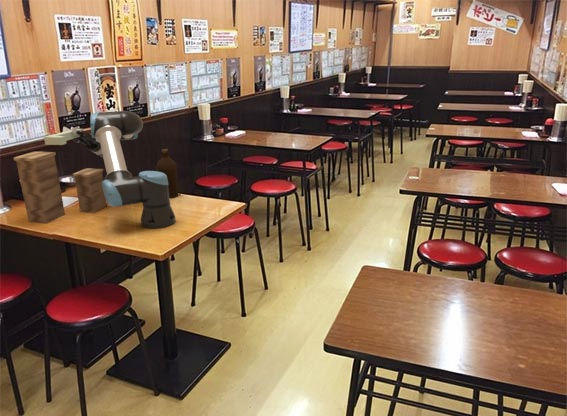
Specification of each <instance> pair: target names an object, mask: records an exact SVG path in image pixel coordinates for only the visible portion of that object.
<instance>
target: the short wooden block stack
mask: <svg viewBox="0 0 567 416" xmlns="http://www.w3.org/2000/svg"><path fill="white" fill-rule="evenodd" d="M103 172H104V168H90V167H89V168H87V167H86V168H83V169H81V170H78V171H77V172H74V173H72V176H73V177H74V181H75V187H76V188H75V189H76V194H77V200H78V204H79V211H80V212H81V213H98V212H99V211H101V210H103V209H104V208H106V207H108V205H107V204H108V203H107V201H106V199H105V196H104V192H103V188H102V181H104V177H103Z"/></svg>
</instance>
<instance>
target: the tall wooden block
mask: <svg viewBox="0 0 567 416" xmlns="http://www.w3.org/2000/svg"><path fill="white" fill-rule="evenodd" d="M56 155H57V153H56V151H31V152H28V153H25V154H22V155H18V156H15V157H13V161H15V162H16V166H17V170H18V171H17V172H18V178H19V181H20V187H21V191H22V196H23V200H24V205H25V210H26V214H27V219H28V222H29V223H37V224H38V223H42V224H49V223H51V222H53V221H55V220H57V219H58V218H60V217H62V216H65V215H66V214H65V213H66V212H65V207H64V201H63V196H62V190H61V185H60V184H61V183H60V179H59V175H58V174H59V173H58V168H57V162H56V157H55V156H56Z"/></svg>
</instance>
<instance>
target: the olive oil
mask: <svg viewBox="0 0 567 416" xmlns="http://www.w3.org/2000/svg"><path fill="white" fill-rule="evenodd" d="M155 171H157V172H162V173H164V174H165V175H166V176H167V180H168V189H169V199H175V198H176V197H178V196H179V188H178V187H179V186H178V167H177V164H176V162H175V161H174V160H173V159H172V158H171V157H170V156H169V149H168V148H163V149H161V158H160V159H159V160H158V162H157V163H156V166H155Z"/></svg>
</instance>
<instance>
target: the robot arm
mask: <svg viewBox="0 0 567 416" xmlns="http://www.w3.org/2000/svg"><path fill="white" fill-rule="evenodd" d="M89 119H90V133H91V134H90V133H88V132H85V131H84V130H83V131H81V132H80V131H79V130H77V129H78V128H75V127H73V126H71V127H70V128H68V127H66V126H63V128H62V132H66V131H70V130H71V131H70V132H71V133H73V134H74V135H76V136H78V137H77V138H74V139H70V140H72V141H73V142H75V144H79V143H80V144H82V145H84V146H85V148H86V149H87V150H88V151H90V152H92V153H94V154H96V156H99V157H101V158H102V159H103V162H104V166H105V167H104V168H105V171H106V176H105V178H104V179H103V181H102V188H103V192H104V196H105V199H106V203H107V204H108V205H109V206H110V207H114V208H115V207H123V206H130V205H134V204H135V205H136V204H141V203H142V211H141V216H140V225H141V226H142V227H143V228H147V229H161V228H166V227H169V226H172V225H173V224H175V223H176V215H175V213H174V211H173V208H172V206H171V201H170V199H171V198H169V189H168V180H167V176H166V175H165V174H164V173H162V172H157V171H156V170H143V171H140V172H139V174H138V176H133V174H132V173H131V172H130V171H128V168H127V165H126V160H125V155H124V152H123V148H122V144H121V141H126V140H127V141H128V140H130V141H131V140H136V139H138V136H139V135H138V134H139V133H140V132H142V130H143V127H144V122H143V120H142V118H141V117H140V116H139V115H138V114H136V113H135V112H132V111H128V110H116V111H98V112H93V113H91V114H90V118H89ZM80 136H81V137H80ZM108 205H107V206H108Z"/></svg>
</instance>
